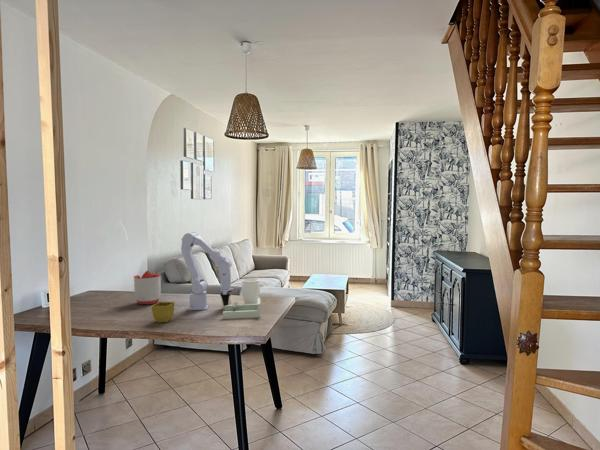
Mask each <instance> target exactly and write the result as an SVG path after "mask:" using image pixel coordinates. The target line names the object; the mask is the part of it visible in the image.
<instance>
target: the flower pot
mask: <svg viewBox="0 0 600 450" xmlns="http://www.w3.org/2000/svg"><path fill="white" fill-rule="evenodd" d="M150 308H151V312H152V316H153V318H154V320H155V321H156V323H167V322H169V321H171V320H172V318H173V316H174V313H175V302H174V301H171V302H170V301H158V302H157V303H153V304H151V307H150Z"/></svg>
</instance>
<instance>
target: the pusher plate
mask: <svg viewBox="0 0 600 450" xmlns="http://www.w3.org/2000/svg"><path fill="white" fill-rule="evenodd" d="M233 305H234V306H233V311H237V305H238V302H234V303H233Z"/></svg>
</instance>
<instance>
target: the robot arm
mask: <svg viewBox="0 0 600 450" xmlns="http://www.w3.org/2000/svg"><path fill="white" fill-rule="evenodd" d="M194 246H199V247H200V248H201V249H203V250H204V251H205V252H206V253H207V254H208V255H209V258H210V259H211V260H212V261H213V262H214V263H215V264H216V265H217V266H218V269H219V270H220V288H219V289H220V291H221V292H223V293H221V292H220V295H219V296H220V298H221V297H222V300H223V304H224V306H225V305H228V301H229V296H230V294H227V292H231V293H232V290H234V288H233V287H232V278H231V276H232V275H231V274H232V273H231V267H232V265H233V264H232V261H231V260H230V259H227V257H226V256H224V255H223V254H221V251H220V250H219V251H218V250H215V249H213V248H212V247H211V246H210V245H209V244H208V242H207V241H206V240H205V239H204V238H202V236H201V235H199V234H198V233H197V232H195V231H193V232H187V233H185V234H184V235H183V236H182V238H181V246H180V250H181V253H182V256H183V259H184V262H185V265H186V267H187V270H188V272H189V275H190V277H191V281H190V282H191V283H190V285H191V290H192V292H193V293H192V292H191V293H190V294H189V311H201V310H204V311H206V310H208V308H209V305H208V302H207V299H208V298H207V296H208V295H207V289H208V285H209V284H208V283H207V281H206V280H205V277H203V276H202V275H201V272H200V270H199V267H198V264H197V262H196V259H195V256H194V254H193V251H192V249H193V248H194Z"/></svg>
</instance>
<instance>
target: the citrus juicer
mask: <svg viewBox="0 0 600 450" xmlns="http://www.w3.org/2000/svg"><path fill="white" fill-rule="evenodd" d="M161 276H162V274H160V273H151V271H148V270H146V271H145V272H144V273H143V274H142V275H139V274H137V275H133V283H134V296H135V299H136V302H137V303H139V304H138V305H143V304H147V305H154V304H156V302H157V303H158V302H160V301H159V300H160V296H161V291H162V288H161V286H162V283H161V281H162V280H161Z"/></svg>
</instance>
